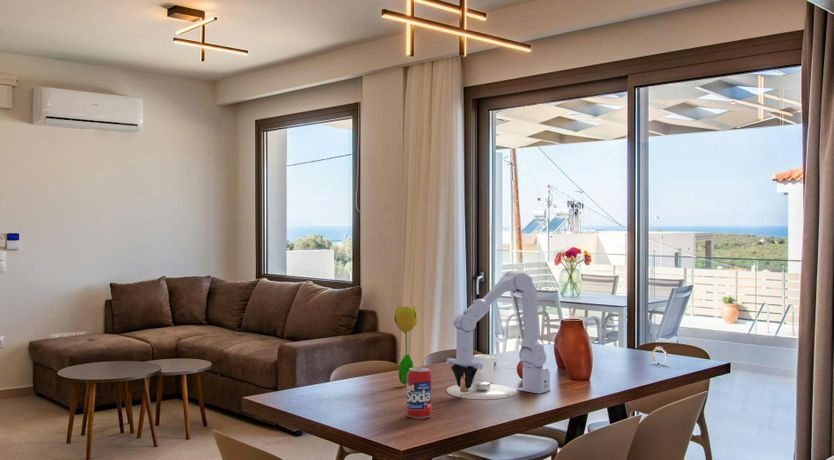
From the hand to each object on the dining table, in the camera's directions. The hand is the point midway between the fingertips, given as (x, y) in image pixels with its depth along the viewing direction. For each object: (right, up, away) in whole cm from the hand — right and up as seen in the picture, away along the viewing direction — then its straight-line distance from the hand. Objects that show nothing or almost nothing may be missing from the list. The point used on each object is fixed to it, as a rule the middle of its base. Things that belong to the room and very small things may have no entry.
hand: (464, 387), depth 267 cm
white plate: (+7, -3, +8) cm, 10 cm away
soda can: (-16, -3, -30) cm, 34 cm away
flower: (-21, -3, +17) cm, 27 cm away
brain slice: (+8, -4, +59) cm, 60 cm away
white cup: (+9, -4, +25) cm, 27 cm away
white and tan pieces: (+4, -2, +4) cm, 6 cm away
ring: (+90, -4, +66) cm, 111 cm away
